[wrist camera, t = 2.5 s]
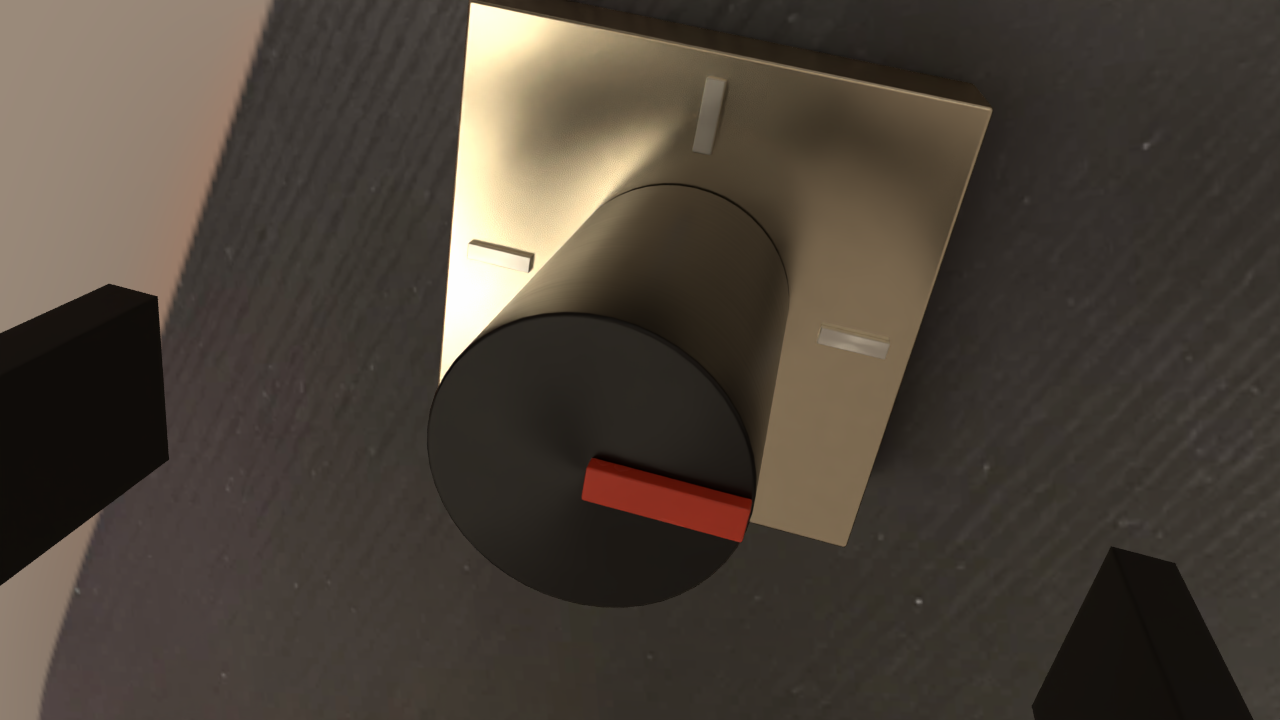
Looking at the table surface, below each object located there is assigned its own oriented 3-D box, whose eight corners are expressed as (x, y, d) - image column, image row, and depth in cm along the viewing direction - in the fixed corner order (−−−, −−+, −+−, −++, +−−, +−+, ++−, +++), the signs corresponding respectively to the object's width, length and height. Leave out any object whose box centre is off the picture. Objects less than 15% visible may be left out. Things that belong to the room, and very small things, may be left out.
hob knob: (548, 371, 21) (407, 571, 14) (578, 161, 18) (428, 283, 12) (759, 424, 20) (713, 659, 14) (814, 214, 18) (792, 373, 11)
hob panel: (478, 384, 25) (429, 442, 22) (518, -11, 20) (464, -2, 17) (846, 480, 24) (846, 553, 21) (975, 83, 19) (996, 109, 16)
